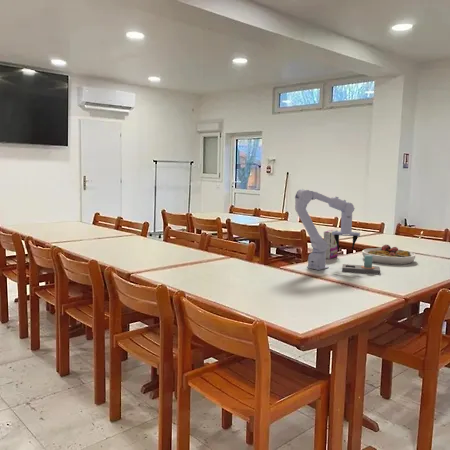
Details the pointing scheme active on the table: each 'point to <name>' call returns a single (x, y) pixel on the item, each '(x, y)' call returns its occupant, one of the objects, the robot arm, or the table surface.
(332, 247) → the candy bar box
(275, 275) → the table surface
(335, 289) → the table surface
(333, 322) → the table surface
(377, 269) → the board with square hole
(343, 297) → the table surface
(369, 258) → the plug
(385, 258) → the bowl
